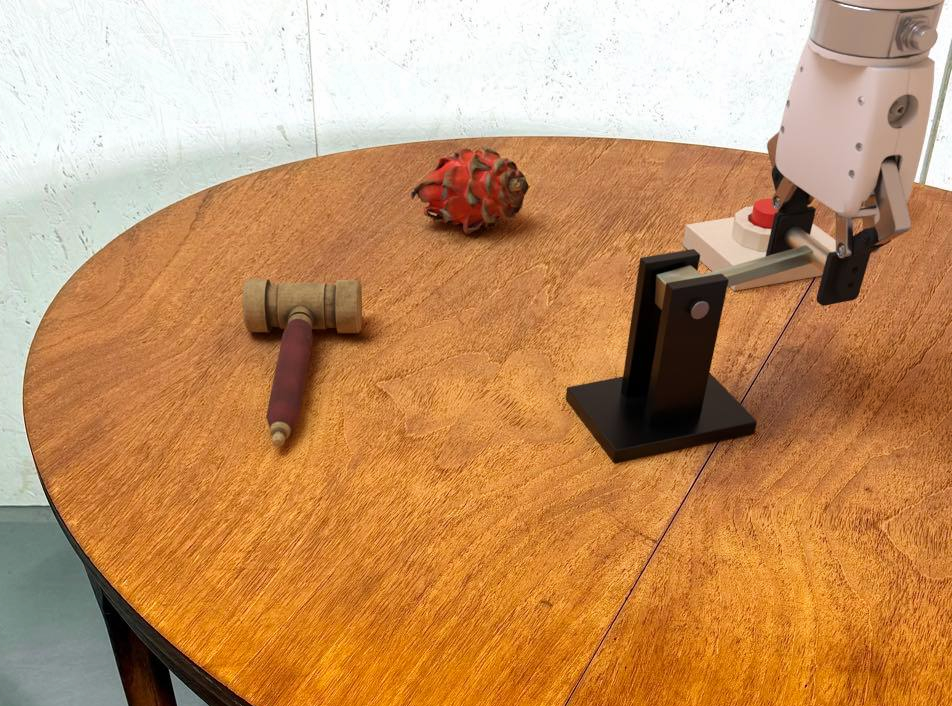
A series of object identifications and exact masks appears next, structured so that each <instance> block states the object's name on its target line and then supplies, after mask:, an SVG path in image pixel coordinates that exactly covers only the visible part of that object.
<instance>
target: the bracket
mask: <svg viewBox="0 0 952 706" xmlns="http://www.w3.org/2000/svg"><path fill="white" fill-rule="evenodd" d="M689 265H691V266H692V267H693V268H694V269H696V270H697V271H698V270H699V265H700V254H699V253H698V252H697V251H696V250H695V249H691V250H687V249H686V250H679V251H672V252H668V253H666V252H665V253H662V254H654V255H647V256H643V257H640V258H639V264H638V269H637V276H636V284H635V291H634V297H633V304H632V312H631V318H630V325H629V332H628V339H627V346H626V353H625V358H624V359H625V361H624V367H623V374H622V376H619V377H618V376H617V377H614V378H608V379H603V380H598V381H593V382H592V381H591V382H588V383H582V384H576V385H572V386H567V387H566V392H565V400H566V402H567V403H568V405H570V407H571V408H572V409H573V411H574V412H575V414H576V415H577V416H578V418H579V419H580V420H581V422H582V423H583V424H584V426H585V427H586V428H587V429H588V431H589V432H590V433H591V435H592V436H593V438H594V439H595V440H596V441H597V443H598V444H599V445H600V447H601V448H602V450H604V452H605V453H606V454H607V456H608V457H609V458H610V460H611V461H612V462H613V463H614V464H615V463H620V462H626V461H631V460H635V459H639V458H640V459H641V458H644V457H650V456H655V455H659V454H662V453H663V454H664V453H669V452H673V451H677V450H682V449H688V448H693V447H697V446H702V445H707V444H711V443H715V442H721V441H725V440H731V439H735V438H739V437H740V438H741V437H745V436H748V435H754V434H755V432H756V428H757V424H758V420H756V418H755V417H754V416H753V415H752V414H751V413H750V412H749V411H748V410H747V409H746V408H745V407H744V406H743V405H742V404H741V403H740V402H739V401H738V400H737V399H736V398H735V397H734V396H733V395H732V393H730V391H729V390H728V389H727V388H725V387H724V385H722V383H721V382H720V381H719V380H718V379H717V378H716V377H715V376H714V375H713V374H712V373H711V368H712V367H711V366H712V363H713V357H714V353H715V348H716V343H717V339H718V333H719V329H720V324H721V319H722V315H723V314H722V313H723V310H724V305H725V300H726V295H727V290H728V287H727V286H728V281H729V279H727V278H726V277H725V276H724V275H723V274H716V275H710V276H704V277H698V278H692V279H686V280H681V281H675V282H669V283H666V288H665V294H664V300H663V306H662V310H661V309H660V308H659V307H658V306H657V305H656V304H655V291H656V275H657V274H661V273H665V272H668V271H672V270H675V269H679V268H682V267H686V266H689Z"/></svg>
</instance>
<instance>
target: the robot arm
mask: <svg viewBox="0 0 952 706" xmlns="http://www.w3.org/2000/svg"><path fill="white" fill-rule="evenodd" d="M945 1H946V0H816V2H815V6H814V11H813V16H812V21H811V25H810V30H809V34H808V36H807V39H806V41H805V44H804V47H803V48H802V51H801V54H800V57H799V60H798V62H797V66H796V68H795V71H794V75H793V77H792V81H791V85H790V89H789V92H788V94H787V98H786V102H785V106H784V110H783V112H782V116H781V117H782V118H781V122H780V126H779V130H778V131H777V132H776V133H775V134H774V135H773V136H772V137H771V138H769V139H768V141H767V143H766V148H767V153H768V157H769V161H770V165H771V168H772V169H771V180H772V183H773V187H774V191H775V192H774V194H773V196H772V198H771V199H772V206H773V208H774V209H775V210H776V211H778V212H776V213H775V215H774V219H773V224H772V229H771V233H770V238H769V242H768V247H767V252H766V256H769V255H773V254H776V253H780V252H783V251H787V250H790V249H793V248H792V247H790V246H789V245H788V244H786V243H785V241H784V236H785V234H786V232H787V231H788V230H789V229H790V228H792V227H795V226H797V227H800V228H801V229H802V230H804V231H805V232H806V233H808V234H809V235H810V233H811V229H812V225H813V224H814V220H815V216H816V211H817V208H816V207H814V206H812V203H813V201H814V199H815V200H816V201H818V202H819V203H821V204H823V205H824V206H825V207H827V208H828V209H829V210H831V211H833V212H834V213H835V240H836V251H835V252H830V253H828V255H827V258H826V262H825V266H824V270H823V274H822V276H821V279H820V281H819V286H818V290H817V293H816V302H817V303H818V304H819V305H820V306H822V307H826V306H830V305H834V304H841V303H846V302H851V301H855V300H856V299H857V298H858V297H859V295H860V291H861V288H862V284H863V281H864V278H865V274H866V271H867V267H868V264H869V260H870V257H871V254H875V253H877V252H879V250H880V248H882V247H884V246H885V245H888V244H889V243H891V241H892V240H894V239H896V238H898V237H900V236H902V235H904V234H906V233H907V232H908V231H910V230H911V228H912V219H911V216H910V212H909V207H908V202H909V199H910V197H911V194H912V190H913V187H914V183H915V181H916V176H917V173H918V169H919V164H920V160H921V157H922V152H923V148H924V143H925V140H926V134H927V129H928V124H929V121H930V113H931V107H932V101H933V91H934V82H935V63H936V62H935V60H933V59H932V58H931V57H929V55H930V53H931V49H932V48H933V47H934V46H935V44H937V41H938V35H939V34H938V31H937V29H938V25H939V22H940V18H941V14H942V12H943V7H944V4H945ZM862 202H864V205H863V203H862ZM810 205H811V206H810ZM861 205H863V206H861ZM861 218H862V230H860V231H859V232H857V233H855V234H854V220H855V219H861ZM766 256H765V257H766Z"/></svg>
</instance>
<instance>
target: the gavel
mask: <svg viewBox="0 0 952 706" xmlns="http://www.w3.org/2000/svg"><path fill="white" fill-rule="evenodd" d="M362 289H363V288H362V283H361V281H360V280H359V279H337V281H336V284H327V283H326V282H280V283H279V284H271V281H270V279H269V278H248V279H246V280H245V282H244V284H243V287H242V318H243V323H244V326H245V329H246V330H247V332H248V333H270V332H271V331H272V328H280V329H281V330H284V331H283V333H282V336H281V341H280V346H279V352H278V356H277V360H276V366H275V371H274V376H273V380H272V384H271V385H272V386H271V391H270V396H269V400H268V405H267V410H266V415H265V416H266V418H265V419H266V421H267V424H268V427H269V434H270V436H271V443H272V444H273V446H274V447H277V448H279V447H280V448H281V447H282V446H283V445H284V444H285V443H286V440H287V439H288V438H289V437H290V435H291V433H292V432H293V430H294V429H295V428H296V427H297V426H298V424H299V422H300V417H301V412H302V411H301V410H302V404H303V398H304V392H305V387H306V381H307V375H308V369H309V364H310V363H309V362H310V358H311V351H312V345H313V340H314V339H313V330H327V329H328V328H336V332H337V333H338V334H359V333H360V332H361V330H362V324H363V293H362V292H363V291H362Z"/></svg>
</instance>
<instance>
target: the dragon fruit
mask: <svg viewBox="0 0 952 706" xmlns="http://www.w3.org/2000/svg"><path fill="white" fill-rule="evenodd" d="M481 149H482V150H483V151H484V152H482V150H480V149H477V150H476V151H475V152H474V151H473V150H472V149H470V148H465V147H464V148H460V149H456V150H455V151H454V152H453V155H451V156H445V157H444V156H443V157H441V158H440V159H439V160H438V163H437V165H436V166H435V168H434V169H433V170H432V171H431V172H430V173H428V174H427V175H426V177H424V179H423V180H422V181H421V182H419V183H418V184H417V185H416V187H414V188H413V191H411V194H410V197H411V200H412V201H413V200H415V197H416V195H417V198H418V199H420V202H422V203H424V204H426V203H428V205H427V206H425V207H424V208H423V211H422V212H423V215H424V216H426V217H427V218H429V219H431V220H433V222H438V223H444V224H447V223H449V224H450V225H455V226H456V225H461V224H462V227H463V229H462V230H463V233H465V234H468V235H470V234H471V233H473V232H475V231H477V230H479V229H480V228H481V226H483V227H484V228H485V229H491V228H495V227H496V226H497V225H498V223H499V219H500V218H502V219H506V220H512V219H513V218H515V217H516V214H519V213H520V210H521V209H522V208H523V205H524V204H523V203H524V199H525V195H526V194H527V193H528V190H529V188H530V187H531V186H530V185H529V183H528V182H527V178H526V176H525V174H524V173H523V171H521V170H520V169H519V168H518V166H517V164H516V163H515V161H513V160H511V159H509V158H507V157H505V158H503V157H501V155H500V153H499V152H498V151H496V150H494V149H493V148H491V147H489V146H484V147H481ZM434 214H436V215H434Z"/></svg>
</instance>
